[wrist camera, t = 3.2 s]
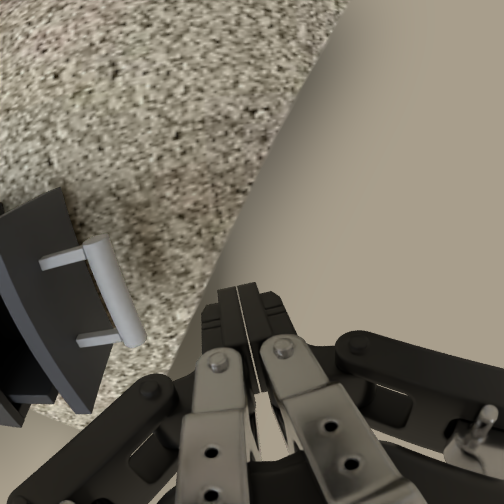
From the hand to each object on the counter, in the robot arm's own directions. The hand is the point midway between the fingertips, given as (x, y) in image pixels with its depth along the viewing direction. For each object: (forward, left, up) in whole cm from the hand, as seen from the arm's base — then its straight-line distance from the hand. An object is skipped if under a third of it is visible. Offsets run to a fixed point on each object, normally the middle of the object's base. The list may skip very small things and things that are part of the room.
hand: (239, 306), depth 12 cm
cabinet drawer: (+10, -10, -8) cm, 16 cm away
